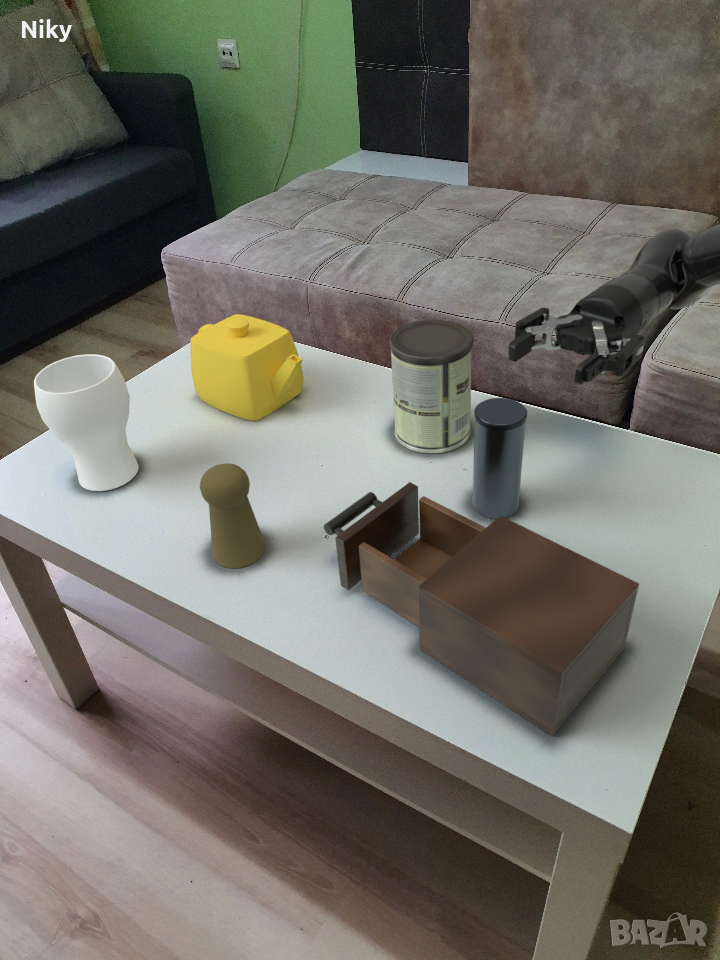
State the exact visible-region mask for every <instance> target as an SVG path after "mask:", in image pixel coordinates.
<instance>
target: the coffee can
mask: <svg viewBox="0 0 720 960" xmlns="http://www.w3.org/2000/svg"><path fill="white" fill-rule="evenodd" d="M388 343H389V348H390V359H391V378H392V379H391V380H392V397H393V398H392V399H393V414H394V437H395V439H396V441H397V442H398V443H399V444H400V445H401V446H402V447H404V448H405V449H406V450H407V449H408V450H410V451H413V452H416V453H420V454H421V453H422V454H442V453H443V454H444V453H448V452H451V451H453V450H457V449H458V448H460V447H462V446H463V445H464V444H465V443H466V442H467V441H468V440H469V438H470V436H471V432H472V431H471V430H472V429H471V408H472V407H471V403H472V398H471V397H472V371H473V370H472V363H473V362H472V359H473V357H472V356H473V353H472V352H473V344H474V335H473V333H472V331H471V330H470V329H469V328H468V327H466V326H464V325H462V324H461V323H458V322H455V321H451V320H446V319H445V320H444V319H424V320H417V321H413V322H409V323H406V324H404V325H401V326H400V327H398V328H396V329H395V330H394V331H393V332H392V333H391V335H390V337H389V342H388Z"/></svg>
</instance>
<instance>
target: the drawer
mask: <svg viewBox="0 0 720 960" xmlns="http://www.w3.org/2000/svg"><path fill="white" fill-rule="evenodd" d="M373 506H374V508H373V509H371V508H372V507H373ZM369 509H371V510H370V511H368V512H367V513H366V514H365V515H363V516H361V515H362V514H363V513H365V512H366V511H367V510H369ZM359 516H361V518H359V519H358V520H357V521H355V522H354V523H352V524H351V525H350V526H348V527H347V528H346V529H343V528H344V527H345V526H347V525H349V524H350V523H351V522H352V521H354V520H355V519H357V518H358V517H359ZM485 528H487V526H486V527H485V526H483V525H482V524H480V523H478V522H476V521H474V520H472V519H470V518H468V517H466V516H464V515H463V514H460V513H458V512H457V511H454V510H452V509H451V508H448V507H446V506H444V505H442V504H441V503H438V502H437V501H435V500H432V499H431V498H429V497H427V496H424V495H423V496H422V497H420V498H419V486H418V485H417V484H414V483H412V482H408V483H406V484H405V485H404V486H402V487H401V488H400V489H398V490H397V491H395V492H394V493H393V494H391V495H390V496H388V498H386V499H385V500H383V501H381V500H379V499H378V497H377V495H376V494H375V493H374V492H372V491H369V492H368V493H366V494H364V495H363V496H362V497H360V498H359V499H357V500H356V501H355V502H353V503H352V504H350V505H349V506H348V507H346V508H345V509H343V510H342V511H341V512H340V513H339V514H337V515H336V516H334V517H333V518H331V519H330V520H328V521H327V522H325V524H323V529H324V532H325V534H327V535H328V536H333V535H335V538H334V539H335V547H336V557H337V566H338V574H339V584H340V586H341V587H342V588H343V589H346V590H347V591H350V590H351V589H353V588H354V587H355V586H357V585H358V584H359V583H360V582H361V589H362V590H361V591H362V592H364V593H365V594H367V595H368V596H369V597H371V598H373V599H374V600H376V601H377V602H379V603H381V604H382V605H384V606H385V607H387V608H388V609H390V610H391V611H392V612H395V613H396V614H398V615H399V616H401V617H403V618H404V619H405V620H407V621H409V622H410V623H412V624H413V625H415V626H416V627H418V628H419V592H418V587H419V586H420V585H421V584H422V583H423V582H424V581H425V580H427V579H428V578H429V577H430V576H431V575H432V574H434V573H435V572H436V571H437V570H438V569H439V568H440V567H442V566H443V565H444V564H445V563H446V562H447V561H449V560H450V559H451V558H452V557H453V556H454V555H455V554H457V553H458V552H459V551H460V550H461V549H462V548H464V547H465V546H466V545H467V544H468V543H469V542H470V541H472V540H473V539H474V538H475V537H476V536H477V535H479V534H480V533H481V532H482V531H483V530H484V529H485ZM418 535H419V539H417V540H416V541H415V542H414V543H413V544H411V545H410V546H409V547H407V548H406V549H405V550H404V551H403V552H401V553H400V554H399V555H397V556H396V557H395V558H392V556H394V555H395V554H396V553H398V551H400V550H401V549H402V548H404V546H406V545H407V544H408V543H410V542H411V541H412V540H414V539H415V538H416V537H417V536H418Z"/></svg>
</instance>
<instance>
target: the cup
mask: <svg viewBox="0 0 720 960" xmlns="http://www.w3.org/2000/svg"><path fill="white" fill-rule="evenodd" d="M33 389H34V396H35V397H34V399H35V405H36V408H37V411H38V413H39V416H40V418H41V420H42V422H43V423H44V424H45V425H46V427H47V428H48V429H49V430H50V431H51V433H52V434H53V435H54V436H55V438H57V439H58V440H59V441H60V442H62V443H63V444H64V445H66V446H67V448H68V450H69V452H70V454H71V455H72V457H73V459H74V465H75V469H76V470H75V471H76V475H77V480H78V484H79V485H80V486H81V487H82V488H83V489H85V490H87V491H92V492H105V491H111V490H115V489H117V488H120V487H122V486H124V485H126V484H127V483H129V482H131V480H133V479H134V478H135V477H136V475H137V474H138V472H139V463H138V460H137V458H136V456H135V454H134V452H133V451H132V449H131V447H130V445H129V442H128V438H127V431H126V428H127V423H128V420H129V415H130V405H131V404H130V403H131V402H130V400H131V399H130V398H131V396H130V393H129V390H128V386H127V383H126V379H125V378H124V376H123V373H122V372H121V371H120V369H119V368H118V366H117V364H116V362H115V361H114V360H113V359H112V358H110V357H108V356H105V355H104V354H103V355H102V354H95V353H93V354H92V353H91V354H90V353H87V354H77V355H73V356H69V357H68V356H67V357H64V358H62V359H59V360H56V361H54V362H52V363H50V364H48V365H46V366H45V367H44V368H42V369H40V371H39V372H38V373H37V374H36V375H35V377H34V380H33Z"/></svg>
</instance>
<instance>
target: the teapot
mask: <svg viewBox="0 0 720 960" xmlns="http://www.w3.org/2000/svg"><path fill="white" fill-rule="evenodd" d="M302 364H303V358H302V357H300V356H299V353H298V350H297V347H296V344H295V341H294V339H293V336H292V334H291V331H289V330H288V329H287V328H285V327H283V326H280V325H278V324H275V323H273V322H269V321H267V320H264V319H261V318H258V317H254V316H249V315H245V314H238V313H236V314H233V315H231V316H229V317H227V318H223V320H221V321H219V322H217V323H215V324H213V323H207V324H204V325H202V326H200V328H199V329H198V331H197V333H196V334H195V335H193V336H192V337H191V338H190V370H191V378H192V383H193V387H194V390H195V392H196V394H197V396H198V398H200V400H201V401H202V402H204V403H206V404H207V405H209V406H211V407H213V408H215V409H217V410H218V411H221V412H223V413H226V414H229V415H231V416H233V417H237V418H240V419H243V420H245V421H251V422H258V421H260V420H262V419H264V418H265V417H267V416H269V415H270V414H272V413H273V412H275V411H277V410H278V409H280V408H281V407H283V406H284V405H286V404H287V403H289V402H291V400H293V399H294V398H296V397H297V396H299V395H300V394H301V393H302V391H303V386H304V373H303V368H302Z"/></svg>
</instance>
